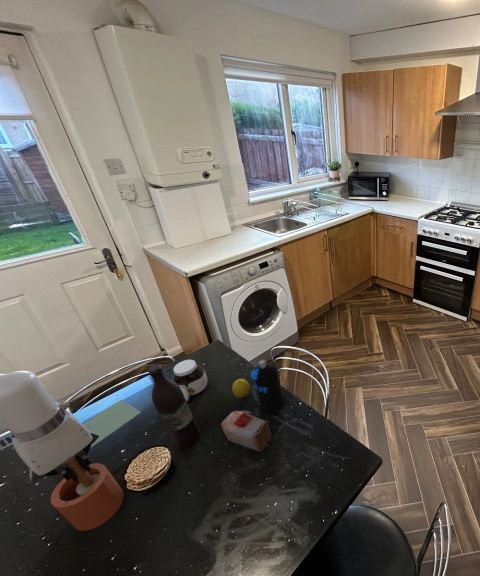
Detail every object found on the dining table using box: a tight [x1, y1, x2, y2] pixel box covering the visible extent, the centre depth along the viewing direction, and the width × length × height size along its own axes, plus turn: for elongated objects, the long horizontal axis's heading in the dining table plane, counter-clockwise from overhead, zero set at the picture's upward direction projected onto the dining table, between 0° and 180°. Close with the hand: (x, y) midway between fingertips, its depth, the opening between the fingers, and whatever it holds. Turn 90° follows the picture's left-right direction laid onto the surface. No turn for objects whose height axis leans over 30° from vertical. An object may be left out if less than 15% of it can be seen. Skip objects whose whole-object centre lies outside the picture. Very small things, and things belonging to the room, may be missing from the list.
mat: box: [82, 399, 142, 448], centre depth 102 cm, size 16×12×1 cm
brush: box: [63, 455, 100, 497], centre depth 76 cm, size 5×5×15 cm
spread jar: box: [171, 359, 208, 402], centre depth 110 cm, size 12×11×12 cm
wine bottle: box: [148, 364, 201, 450], centre depth 90 cm, size 7×7×30 cm
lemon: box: [231, 378, 251, 399], centre depth 110 cm, size 6×6×8 cm
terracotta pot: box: [50, 462, 125, 532], centre depth 78 cm, size 10×10×11 cm
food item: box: [220, 409, 272, 453], centre depth 95 cm, size 14×8×10 cm, turn 72°
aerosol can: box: [250, 359, 285, 415], centre depth 104 cm, size 8×8×20 cm
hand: (80, 472), depth 75 cm, fingers closed on brush
